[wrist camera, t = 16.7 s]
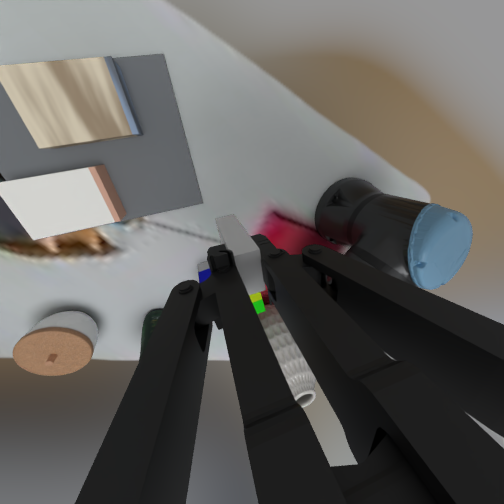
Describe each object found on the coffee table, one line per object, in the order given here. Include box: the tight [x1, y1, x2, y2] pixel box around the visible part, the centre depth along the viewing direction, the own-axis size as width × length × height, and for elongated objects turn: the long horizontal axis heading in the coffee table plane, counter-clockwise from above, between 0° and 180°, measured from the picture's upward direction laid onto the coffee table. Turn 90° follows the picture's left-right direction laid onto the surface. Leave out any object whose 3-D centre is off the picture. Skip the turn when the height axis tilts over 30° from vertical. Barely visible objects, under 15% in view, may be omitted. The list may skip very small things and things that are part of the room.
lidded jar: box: [13, 311, 98, 376], centre depth 38 cm, size 11×11×9 cm
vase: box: [257, 305, 316, 408], centre depth 47 cm, size 16×16×22 cm
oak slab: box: [0, 56, 143, 149], centre depth 27 cm, size 4×8×12 cm
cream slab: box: [0, 165, 127, 240], centre depth 31 cm, size 4×8×12 cm
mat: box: [0, 54, 203, 238], centre depth 31 cm, size 26×21×1 cm
